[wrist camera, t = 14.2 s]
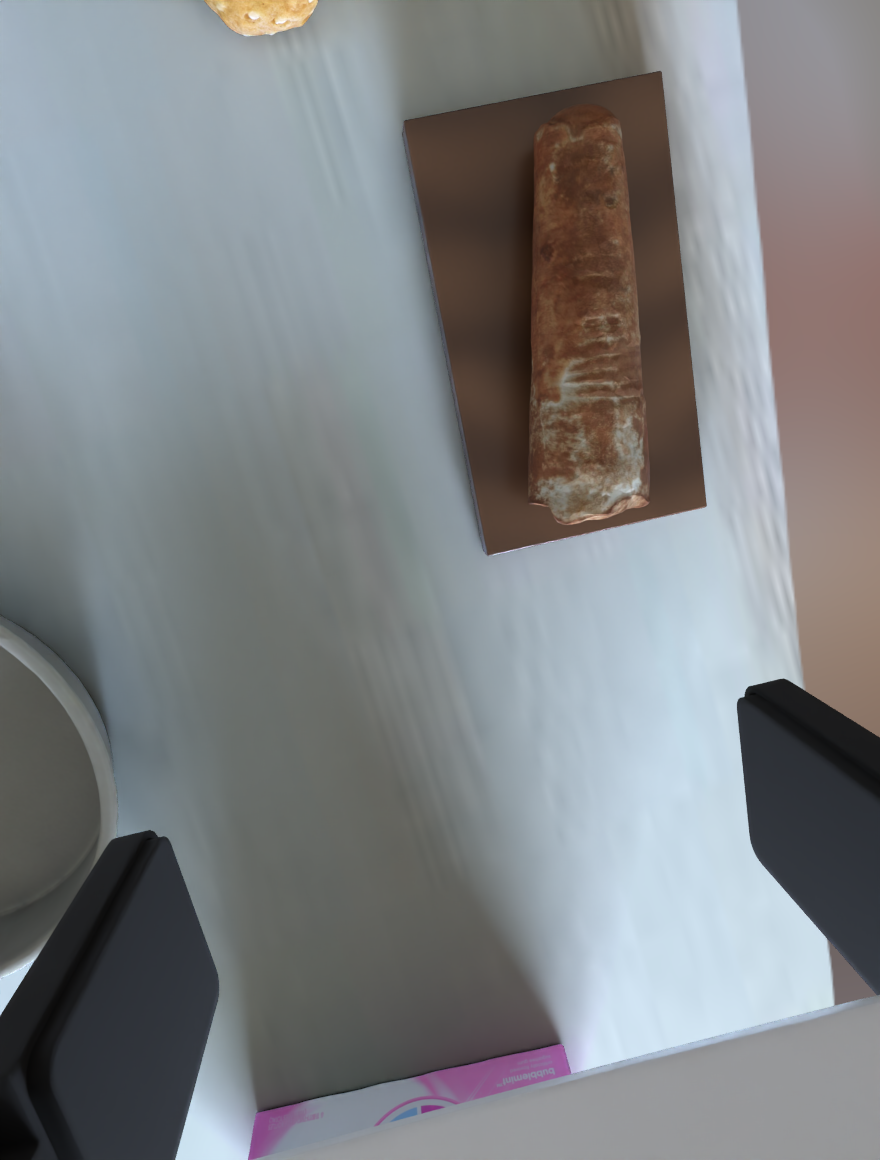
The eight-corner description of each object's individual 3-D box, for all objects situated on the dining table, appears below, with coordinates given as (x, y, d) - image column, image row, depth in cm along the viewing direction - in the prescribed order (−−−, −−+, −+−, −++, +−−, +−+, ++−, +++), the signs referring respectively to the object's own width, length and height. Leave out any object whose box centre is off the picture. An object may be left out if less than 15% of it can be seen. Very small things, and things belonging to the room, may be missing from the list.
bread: (517, 513, 37) (541, 528, 31) (514, 126, 32) (543, 66, 27) (626, 507, 37) (669, 522, 32) (639, 126, 33) (692, 67, 27)
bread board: (401, 133, 33) (402, 119, 32) (649, 85, 34) (662, 69, 32) (483, 551, 38) (487, 556, 37) (695, 504, 39) (707, 507, 38)
